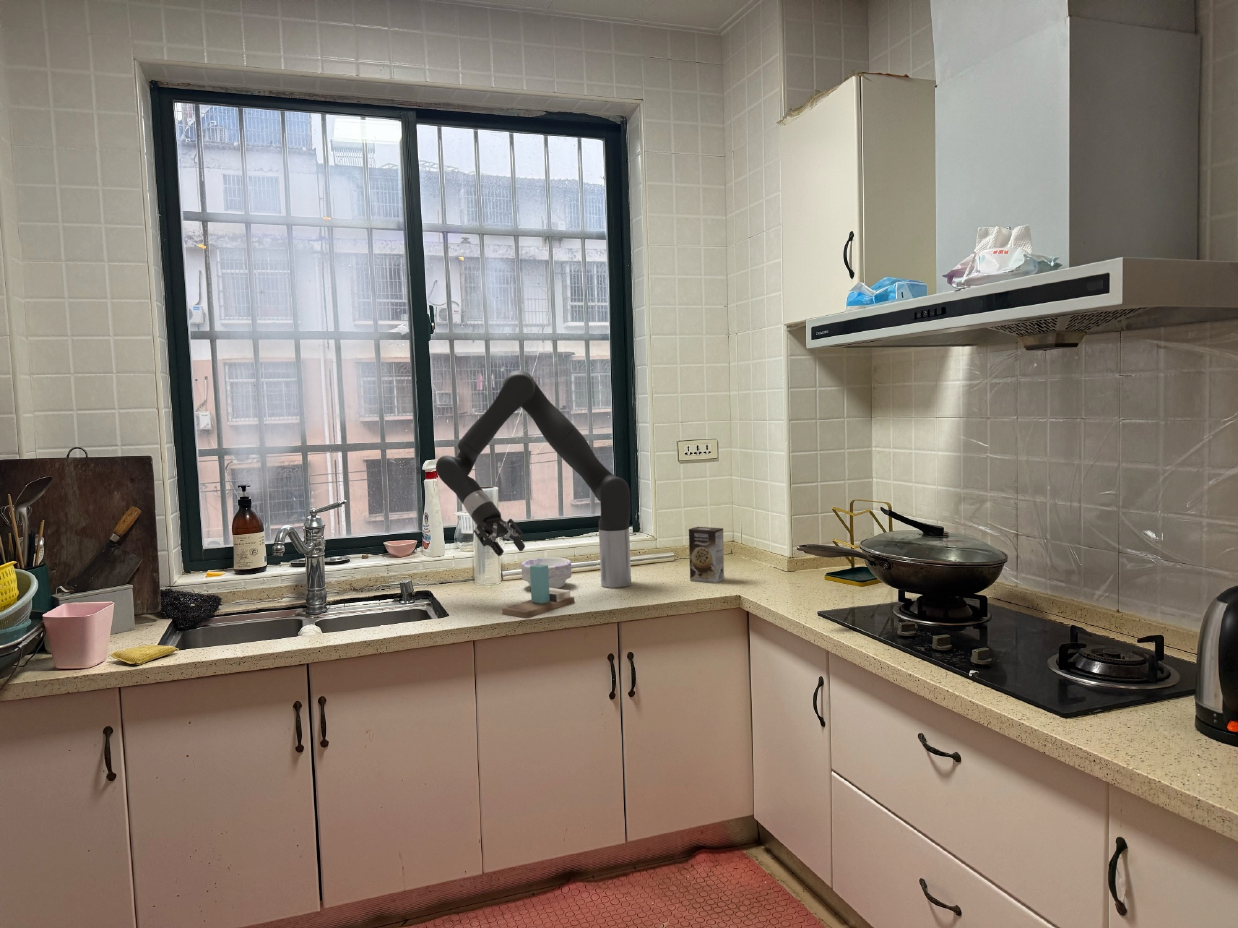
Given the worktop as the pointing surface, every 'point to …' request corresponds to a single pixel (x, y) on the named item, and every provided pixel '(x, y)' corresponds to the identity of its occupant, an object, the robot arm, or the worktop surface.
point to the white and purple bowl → (549, 570)
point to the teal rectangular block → (539, 583)
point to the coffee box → (706, 554)
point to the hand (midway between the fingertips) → (512, 551)
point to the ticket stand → (532, 608)
